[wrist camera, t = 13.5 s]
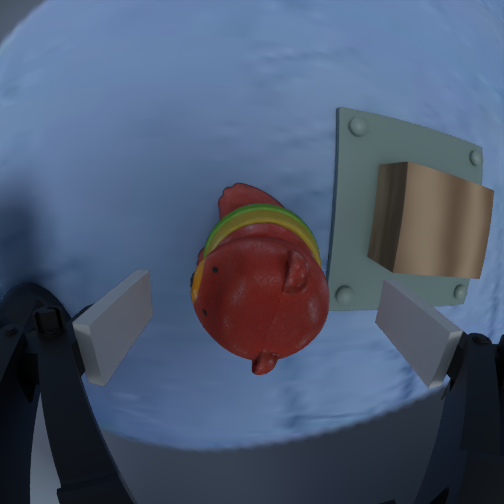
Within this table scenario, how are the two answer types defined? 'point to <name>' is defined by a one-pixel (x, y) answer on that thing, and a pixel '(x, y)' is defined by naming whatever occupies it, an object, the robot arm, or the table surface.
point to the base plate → (364, 196)
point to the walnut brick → (429, 222)
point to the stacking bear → (259, 280)
